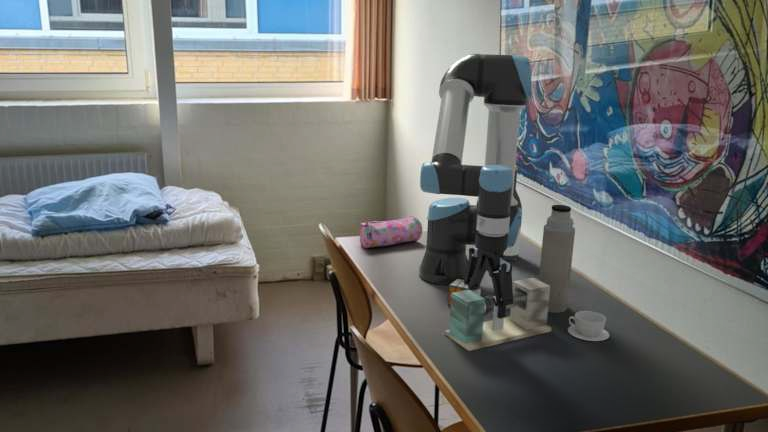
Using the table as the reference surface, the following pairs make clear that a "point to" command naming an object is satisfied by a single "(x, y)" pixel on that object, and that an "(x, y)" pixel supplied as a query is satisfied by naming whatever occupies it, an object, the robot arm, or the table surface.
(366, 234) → the pencil case
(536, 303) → the rail
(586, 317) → the teacup
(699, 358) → the table surface
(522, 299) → the slip tube
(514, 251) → the wine bottle
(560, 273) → the thermos bottle
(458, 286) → the puzzle
